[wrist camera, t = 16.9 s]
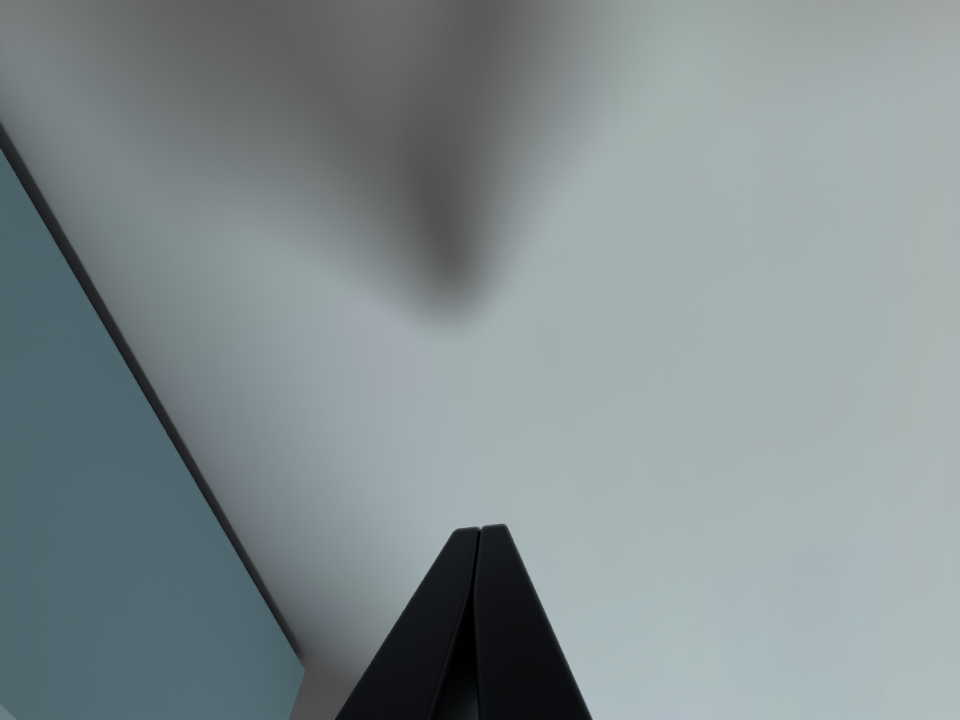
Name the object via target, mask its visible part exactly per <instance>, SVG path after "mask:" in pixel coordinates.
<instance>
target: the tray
mask: <svg viewBox="0 0 960 720" xmlns="http://www.w3.org/2000/svg"><path fill="white" fill-rule="evenodd" d="M305 673H306V671H305V669H304V668H303V666H302V664H301V662H300V661H299V659H298V657H297V656H296V654H295V652H294V650H293V649H292V647H291V645H290V644H289V642H288V640H287V638H286V637H285V635H284V633H283V632H282V630H281V628H280V626H279V625H278V623H277V621H276V620H275V618H274V616H273V614H272V613H271V611H270V609H269V608H268V606H267V604H266V602H265V601H264V599H263V597H262V596H261V594H260V592H259V591H258V589H257V587H256V585H255V584H254V582H253V580H252V579H251V577H250V575H249V573H248V572H247V570H246V568H245V567H244V565H243V563H242V561H241V560H240V558H239V556H238V555H237V553H236V551H235V549H234V548H233V546H232V544H231V543H230V541H229V539H228V537H227V536H226V534H225V532H224V531H223V529H222V527H221V525H220V524H219V522H218V520H217V519H216V517H215V515H214V513H213V512H212V510H211V508H210V507H209V505H208V503H207V501H206V500H205V498H204V496H203V495H202V493H201V491H200V489H199V488H198V486H197V484H196V483H195V481H194V479H193V477H192V476H191V474H190V472H189V471H188V469H187V467H186V465H185V464H184V462H183V460H182V459H181V457H180V455H179V453H178V452H177V450H176V448H175V447H174V445H173V443H172V441H171V440H170V438H169V436H168V435H167V433H166V431H165V429H164V428H163V426H162V424H161V423H160V421H159V419H158V417H157V416H156V414H155V412H154V411H153V409H152V407H151V405H150V404H149V402H148V400H147V399H146V397H145V395H144V393H143V392H142V390H141V388H140V387H139V385H138V383H137V381H136V380H135V378H134V376H133V375H132V373H131V371H130V369H129V368H128V366H127V364H126V363H125V361H124V359H123V357H122V356H121V354H120V352H119V351H118V349H117V347H116V345H115V344H114V342H113V340H112V339H111V337H110V335H109V333H108V332H107V330H106V328H105V327H104V325H103V323H102V321H101V320H100V318H99V316H98V315H97V313H96V311H95V310H94V308H93V306H92V304H91V303H90V301H89V299H88V298H87V296H86V294H85V292H84V291H83V289H82V287H81V286H80V284H79V282H78V280H77V279H76V277H75V275H74V274H73V272H72V270H71V268H70V267H69V265H68V263H67V262H66V260H65V258H64V256H63V255H62V253H61V251H60V250H59V248H58V246H57V244H56V243H55V241H54V239H53V238H52V236H51V234H50V232H49V231H48V229H47V227H46V226H45V224H44V222H43V220H42V219H41V217H40V215H39V214H38V212H37V210H36V208H35V207H34V205H33V203H32V202H31V200H30V198H29V196H28V195H27V193H26V191H25V190H24V188H23V186H22V184H21V183H20V181H19V179H18V178H17V176H16V174H15V172H14V171H13V169H12V167H11V166H10V164H9V162H8V160H7V159H6V157H5V155H4V154H3V152H2V150H1V148H0V720H289V719H290V716H291V713H292V710H293V708H294V705H295V702H296V699H297V696H298V693H299V690H300V687H301V684H302V681H303V679H304V676H305Z"/></svg>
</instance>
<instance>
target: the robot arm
mask: <svg viewBox="0 0 960 720" xmlns="http://www.w3.org/2000/svg"><path fill="white" fill-rule="evenodd" d="M335 720H593V719H592V717H591V715H590V712H589V710H588V708H587V706H586V703H585V701H584V699H583V697H582V694H581V692H580V690H579V687H578V685H577V683H576V681H575V678H574V676H573V674H572V672H571V669H570V667H569V665H568V663H567V660H566V658H565V656H564V654H563V651H562V649H561V647H560V645H559V642H558V640H557V638H556V636H555V633H554V631H553V629H552V626H551V624H550V622H549V620H548V617H547V615H546V613H545V611H544V608H543V606H542V604H541V602H540V599H539V597H538V595H537V593H536V590H535V588H534V586H533V584H532V581H531V579H530V577H529V575H528V572H527V570H526V568H525V565H524V563H523V561H522V559H521V556H520V554H519V552H518V550H517V547H516V545H515V543H514V541H513V538H512V536H511V534H510V532H509V529H508V527H507V526H506V525H505V524H496V525H486V526H483V527H482V528H481V529H480V528H479V527H468V528H459V529H456V530H455V531H454V532H453V533H452V535H451V536H450V538H449V539H448V541H447V542H446V544H445V546H444V547H443V549H442V550H441V552H440V554H439V555H438V557H437V558H436V560H435V561H434V563H433V565H432V566H431V568H430V569H429V571H428V573H427V574H426V576H425V577H424V579H423V580H422V582H421V584H420V585H419V587H418V588H417V590H416V592H415V593H414V595H413V596H412V598H411V600H410V601H409V603H408V604H407V606H406V607H405V609H404V611H403V612H402V614H401V615H400V617H399V619H398V620H397V622H396V623H395V625H394V626H393V628H392V630H391V631H390V633H389V634H388V636H387V638H386V639H385V641H384V642H383V644H382V645H381V647H380V649H379V650H378V652H377V653H376V655H375V657H374V658H373V660H372V661H371V663H370V664H369V666H368V668H367V669H366V671H365V672H364V674H363V676H362V677H361V679H360V680H359V682H358V683H357V685H356V687H355V688H354V690H353V691H352V693H351V695H350V696H349V698H348V699H347V701H346V703H345V704H344V706H343V707H342V709H341V710H340V712H339V714H338V715H337V717H336V718H335Z"/></svg>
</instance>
